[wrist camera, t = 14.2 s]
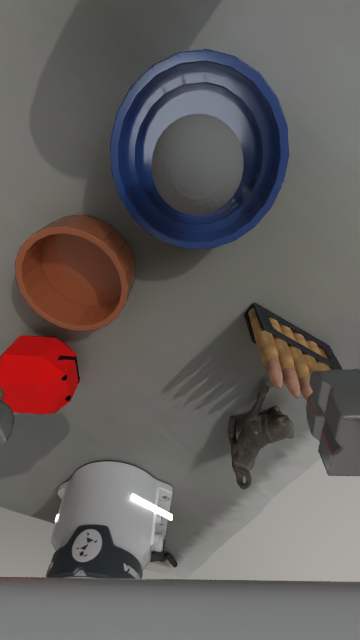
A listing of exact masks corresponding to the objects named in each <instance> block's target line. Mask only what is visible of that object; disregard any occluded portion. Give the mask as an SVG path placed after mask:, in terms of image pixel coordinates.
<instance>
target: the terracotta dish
mask: <svg viewBox="0 0 360 640" xmlns="http://www.w3.org/2000/svg"><path fill="white" fill-rule="evenodd" d="M15 273H16V281H17V284H18V286H19V289H20V292H21V294H22V296H23V297H24V299H25V300H26V301H27V303H28V304H29V306H30V307H31V308H32V309H33V310H34V311H35V312H36V313H38V314H39V315H40V316H41V317H42V318H44V319H45V320H47V321H49V322H51V323H53V324H55V325H57V326H59V327H61V328H66V329H70V330H75V331H87V330H95V329H97V328H100V327H103V326H106V325H108V324H109V323H110V322H112V321H113V320H114V319H115V318H117V317H118V316H119V314H120V312H121V311H122V309H123V307H124V305H125V304H126V301H127V299H128V297H129V294H130V292H131V290H132V287H133V284H134V280H135V273H136V268H135V260H134V256H133V254H132V251H131V249H130V247H129V245H128V243H127V242H126V240H125V239H124V238H123V237H122V235H121V234H120V233H119V232H118V231H117V230H115V229H114V228H113V227H112V226H110V225H109V224H107V223H105V222H103V221H102V220H99V219H97V218H94V217H90V216H84V215H72V216H66V217H63V218H60V219H58V220H56V221H54V222H52V223H50V224H48V225H47V226H45V227H44V228H42V229H40V230H39V231H37V232H36V233H34V234H32V235H31V236H30V237H29V238H28V239H27V240H26V241H25V243H24V244H23V245H22V246H21V247H20V250H19V252H18V255H17V258H16V261H15Z"/></svg>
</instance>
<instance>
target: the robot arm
mask: <svg viewBox="0 0 360 640" xmlns="http://www.w3.org/2000/svg"><path fill="white" fill-rule="evenodd" d="M309 384H310V387H311V389H312V391H313V393H312V394H311V395H310V396H309V397H307V405H306V411H307V420H308V424H309V428H310V431H311V433H312V436H314V437H315V438H316V439H318V440H319V441H320V444H319V450H318V451H319V454H320V456H321V459H322V461H323V464H324V466H325V468H326V471H327V473H328V475H329V476H360V368H359V369H351V370H327V371H313V372H312V374H311V377H310V383H309ZM3 397H4V392H3V390H2V388H1V386H0V446H1V445H2V444H4V443H5V442H6V441H7V440H8V438H9V436H10V435H11V433H12V429H13V425H14V415H13V412H12V409H11V407H10V406H9V405H8V404H6V403H5V402H4V401H2V399H3ZM172 494H173V487H172V486H170V485H169V484H166V483H164V482H161V481H158V480H156V479H154V478H153V477H152V476H150V475H149V474H148V473H146V472H145V471H143V470H141V469H139V468H137V467H135V466H132V465H129V464H125V463H120V462H112V461H103V462H95V463H90V464H87V465H85V466H83V467H81V468H79V469H78V470H77V471H76V472H75V473H74V474H73V476H72V478H71V479H70V480H69V481H67V482H65V483H63V484H61V485H60V486H59V489H58V495H59V497H60V498H61V499H62V502H61V505H60V509H59V512H58V514H57V516H56V519H55V526H54V529H53V533H52V536H51V543H52V544H53V547H54V548H55V550H56V552H55V553H54V555H53V558H52V561H51V564H50V565H49V568H48V571H47V574H46V575H47V576H46V578H33V577H29V578H28V577H0V640H360V582H329V581H324V582H323V581H256V580H253V581H252V580H183V579H176V580H175V579H142V571H143V570H144V569H145V568H146V567H147V566H148V565H149V564H150V562H154V561H161V562H164V561H166V559H167V558H168V559H169V561H170V562H171V564H172V565H173V567H177V562H176V561H175V559H174V558H173V556H172V555H171V554H170V553H165V554H164V544H165V540H164V539H163V538H165V535H166V529H167V523H168V519H169V520H172V514H170V513H169V512H170V506H171V500H172Z"/></svg>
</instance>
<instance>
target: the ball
mask: <svg viewBox="0 0 360 640" xmlns="http://www.w3.org/2000/svg"><path fill="white" fill-rule="evenodd" d="M76 357H77V356H76V353H75V352H74V351H73V350H72V349H71V348H70V347H69V346H67V345H66V344H65V343H64V342H62V341H61V340H59V339H57V338H54V337H37V336H20V337H19V338H18V339H17V340H16V341H15V342H14V343H13V344H12V345H11V346H10V347H9V348H8V349H7V350H6V351H5V352H4V353H3V354H2V355H1V357H0V386H1V388H2V390H3V392H4V397H3V399H2V401H4V402H5V403H6V404H8V405H9V406H10V407H11V409H12V412H17V413H33V414H53V413H56V412H57V411H58V410H59V409H61V408H62V407H63V406H65V405H66V404H67V403H68V402H70V400H71V398H72V396H73V394H74V392H75V390H76V388H77V384H78V383H79V382H80V377H79V372H78V366H77V360H76Z"/></svg>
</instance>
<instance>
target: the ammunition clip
mask: <svg viewBox="0 0 360 640" xmlns="http://www.w3.org/2000/svg"><path fill="white" fill-rule="evenodd" d="M244 316H245V319H246V322H247V326H248V329H249V333H250V336H251V339H252V342H253V343H255V344H257V348H258V351H259V355H260V358H261V360H262V361H263V363H264V366H265V368H266V370H267V374H268V376H269V378H270V380H271V381H272V383H273V384H274V385H275V386H276V387H277V388H278V389H281V387H282V383H283V381H284V383H285V385H286V387H287V388H288V390H289V391H290V393H291V394H292V395H293V396H294V397H295V398H299V395H300V391H301V393H302V395H303V396H304V398H305V399H306V400H307V397H309V396H310V395H311V394H312V393H313V391H312V389H311V387H310V384H309V383H310V377H311V374H312V372H313V371H327V370H343V369H342V367H341V365H340V364H339V362H338V360H337V358H336V357H335V355H334V353H333V351H332V350H331V348H330V346H329V345H327V344H325V343H324V342H322V341H320V340H318V339H317V338H315V337H313V336H312V335H310V334H308V333H306V332H305V331H303V330H301V329H299V328H298V327H296V326H294V325H293V324H291V323H289V322H287V321H286V320H284V319H282V318H281V317H279V316H277V315H275V314H274V313H272V312H270V311H269V310H267V309H265V308H263V307H262V306H260V305H258V304H257V303H253V304H252V306H251V307H250V308H249V309H248V311H247V312H246V313H245V314H244Z"/></svg>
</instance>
